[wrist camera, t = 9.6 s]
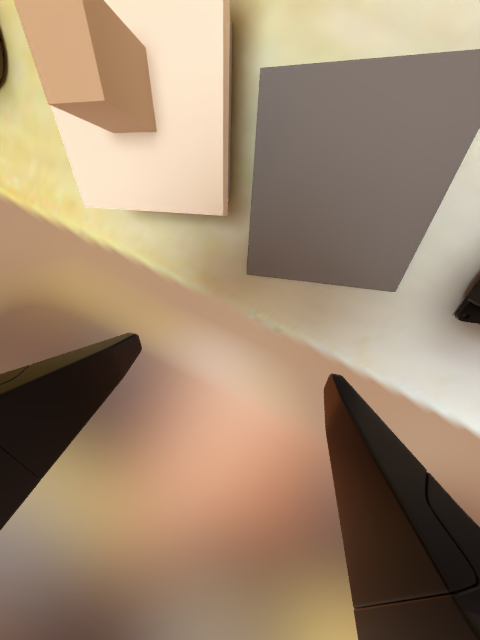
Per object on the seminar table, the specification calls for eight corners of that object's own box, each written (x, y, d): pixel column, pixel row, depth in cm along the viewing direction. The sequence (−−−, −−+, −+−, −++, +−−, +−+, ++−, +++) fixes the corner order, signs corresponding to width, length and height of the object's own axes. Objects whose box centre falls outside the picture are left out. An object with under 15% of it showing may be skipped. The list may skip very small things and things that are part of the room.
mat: (511, 52, 10) (521, 45, 9) (392, 290, 16) (395, 292, 16) (261, 73, 12) (260, 68, 11) (247, 272, 18) (246, 274, 18)
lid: (231, -112, 7) (162, -479, 3) (227, 215, 13) (200, 216, 9) (17, -54, 9) (-178, -242, 5) (96, 207, 15) (28, 205, 11)
